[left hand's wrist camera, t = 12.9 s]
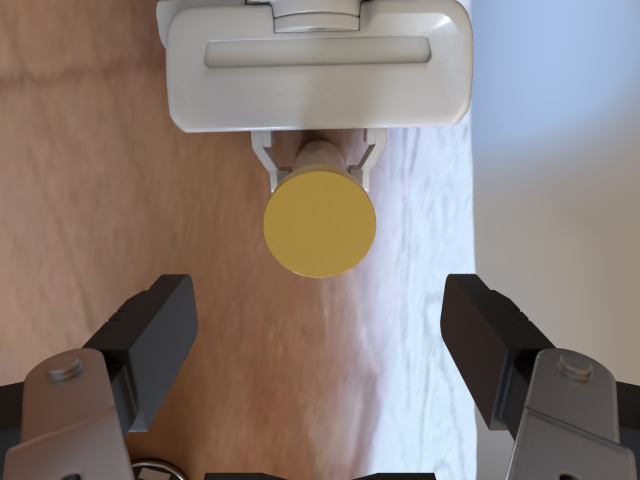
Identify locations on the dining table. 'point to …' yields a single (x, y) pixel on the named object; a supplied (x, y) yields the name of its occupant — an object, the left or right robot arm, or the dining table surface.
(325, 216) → the lid
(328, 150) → the white cylinder
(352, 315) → the dining table surface
